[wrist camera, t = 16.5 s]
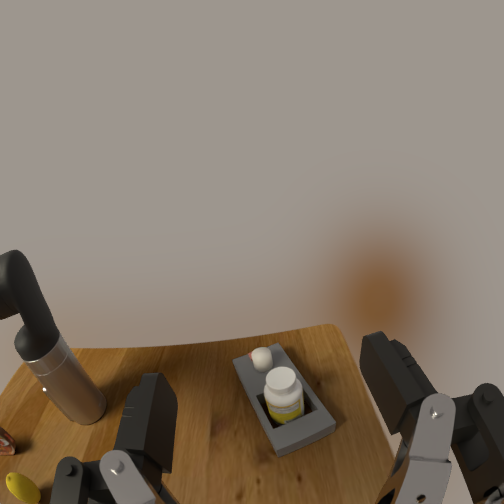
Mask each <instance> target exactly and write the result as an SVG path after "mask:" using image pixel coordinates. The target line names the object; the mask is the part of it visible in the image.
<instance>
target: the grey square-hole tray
mask: <svg viewBox="0 0 504 504" xmlns="http://www.w3.org/2000/svg"><path fill="white" fill-rule="evenodd" d="M232 361H233V364H234V367H235V370H236V372H237V374H238V377H239V379H240V381H241V383H242V385H243V388H244V390H245V392H246V394H247V396H248V398H249V400H250V402H251V405H252V407H253V409H254V411H255V413H256V415H257V417H258V419H259V421H260V423H261V425H262V427H263V429H264V431H265V433H266V435H267V437H268V439H269V441H270V443H271V444H272V446H273V448H274V450H275V452H276V454H277V456H278V458H279V457H281V456H284V455H286V454H288V453H291V452H293V451H295V450H298V449H300V448H302V447H304V446H306V445H309V444H311V443H313V442H315V441H317V440H319V439H321V438H323V437H325V436H327V435H329V434H331V433H333V432H334V431H335V427H336V422H335V420H334V419H333V418H332V416H331V415H330V414H329V412H328V411H327V410H326V408H325V407H324V406H323V404H322V403H321V401H320V400H319V399H318V397H317V396H316V395H315V393H314V392H313V391H312V389H311V388H310V386H309V385H308V384H307V382H306V381H305V380H304V378H303V377H302V375H301V374H300V373H299V371H298V370H297V368H296V367H295V366H294V364H293V363H292V361H291V360H290V359H289V357H288V356H287V354H286V353H285V352H284V350H283V349H282V347H281V346H280V344H279V343H276V344H274V345H271V346H268V347H266V348H265V347H260V348H257V349H255V350H254V351H253V352H250V353H248V354H247V355H244V356H242V357H239V358H236V359H233V360H232ZM277 367H288V368H290V369H292V370H293V371H294V372H295V374H296V378H297V379H298V380H299V381H300V382H301V384H302V388H303V398H304V399H305V401H306V402H307V404H308V405H309V407H310V408H311V410H312V411H313V412H311V413H309V414H307V415H305V416H303V417H301V418H298V419H296V420H294V421H292V422H289V423H287V424H285V425H282V426H280V427H278V428H275V429H273V428H272V426H271V424H270V422H269V420H268V418H267V416H266V415H265V413H264V411H263V409H262V407H261V404H264V403H266V400H265V396H264V387H265V385H266V376H267V374H268V373H269V372H270V371H271V370H272V369H274V368H277Z"/></svg>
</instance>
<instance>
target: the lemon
mask: <svg viewBox="0 0 504 504" xmlns="http://www.w3.org/2000/svg"><path fill="white" fill-rule="evenodd" d="M6 484H7V487H8V489H9V490H10V492H11V493H12V494H13V495H14V496H15V497H17V498H18V499H19V500H21V501H23V502H25V503H28V504H36V503H38V502H39V501H40V498H41V495H40V491H39V489H38V487H37V486H36V485H35V484H34V483H33V482H32V481H31V480H30V479H29V478H27V477H25V476H24V475H22V474H19V473H10V474H8V475H7V477H6Z"/></svg>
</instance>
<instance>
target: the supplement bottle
mask: <svg viewBox="0 0 504 504" xmlns="http://www.w3.org/2000/svg"><path fill="white" fill-rule="evenodd" d="M264 396H265V400H266V403H267V407H268V410H269V414H270V417H271V419H272V420H273V422H275V423H276V424H278V425H281V426H282V425H285V424H287V423H289V422H292V421H294V420H296V419H298V418H301V417H303V415H304V398H303V388H302V384H301V382H300V381H299V380H298V379H297V378H296V374H295V372H294V371H293V370H292V369H290V368H288V367H277V368H274V369H272V370H271V371H270V372H269V373H268V374H267V376H266V385H265V387H264Z"/></svg>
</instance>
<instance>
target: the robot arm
mask: <svg viewBox="0 0 504 504" xmlns="http://www.w3.org/2000/svg"><path fill="white" fill-rule="evenodd" d="M18 313H20V315H21V317H22V319H23V322H24V326H23V327H22V328H21V329H20V330H19V332H18V333H17V335H16V338H15V341H14V343H15V348H16V350H17V352H18V353H19V355H20V356H21V358H22V359H23V360H24V362H25V363H26V365H27V366H28V367H29V369H30V370H31V371H32V373H33V374H34V375H35V376H36V378H37V379H38V380H39V382H40V383H41V384H42V385H43V391H44V393H45V394H46V395H47V396H48V397H49V399H50V400H51V401H52V402H53V403H54V404H55V405H56V406H57V407H58V408H59V409H60V411H61V412H62V413H63V414H64V415H65V416H66V417H67V418H68V419H69V420H70V421H75V422H77V423H78V424H81V425H88V424H92V423H94V422H96V421H97V420H98V419H100V417H101V416H102V415H103V414H104V412H105V409H106V405H107V403H106V398H105V396H104V395H103V394H102V392H101V391H100V390H99V389H98V387H97V386H96V385H95V383H94V382H93V381H92V379H91V378H90V377H89V375H88V374H87V373H86V371H85V370H84V369H83V367H82V366H81V364H80V363H79V361H78V360H77V358H76V357H75V356H74V354H73V353H72V351H71V349H70V348H69V346H68V345H67V343H66V342H65V340H64V339H63V337H62V335H61V334H60V332H59V330H58V329H57V327H56V325H55V323H54V320H53V317H52V314H51V312H50V309H49V307H48V305H47V303H46V301H45V299H44V297H43V295H42V292H41V290H40V287H39V285H38V282H37V280H36V277H35V275H34V272H33V270H32V268H31V266H30V264H29V262H28V260H27V258H26V257H25V256H24V255H23V253H21V252H20V251H18V250H11V251H9V252H6V253H4V254H2V255H0V320H2V319H5V318H8V317H10V316H12V315H15V314H18ZM360 370H361V373H362V375H363V377H364V379H365V381H366V383H367V385H368V387H369V389H370V391H371V394H372V396H373V398H374V400H375V402H376V404H377V406H378V408H379V410H380V412H381V414H382V417H383V419H384V421H385V423H386V425H387V427H388V429H389V432H390V434H391V435H393V434H396V433H398V432H400V434H401V436H402V439H401V442H400V445H399V448H398V451H397V454H396V457H395V460H394V463H393V466H392V469H391V471H390V474H389V476H388V479H387V481H386V483H385V484H384V486H383V488H382V489H381V491H380V493H379V495H378V498H377V500H376V502H375V504H442V501H443V498H444V494H445V491H446V488H447V484H448V481H449V477H450V473H451V467H452V466H451V461H449V460H448V454H449V449H450V446H451V448H452V450H453V453H454V455H455V457H456V459H457V462H458V464H459V467H460V469H461V472H462V474H463V476H464V479H465V482H466V484H467V487H468V490H469V492H470V495H471V498H472V501H473V504H504V396H503V395H502V393H501V392H500V390H499V389H498V388H497V387H496V386H495V385H493V384H489V383H484V384H481V385H480V386H478V387H477V388H476V390H475V391H474V393H473V394H471V395H466V396H462V397H457V398H450V397H449V396H447V395H445V394H441V393H438V392H437V391H436V390H435V389H434V387H433V386H432V384H431V383H430V381H429V380H428V378H427V377H426V375H425V374H424V372H423V371H422V369H421V368H420V366H419V365H418V364H417V363H416V361H415V359H414V358H413V357H412V356H411V354H410V352H409V351H408V349H407V348H406V346H405V345H403V344H401V343H400V342H398V341H397V340H395V339H394V340H392V341H389V340H388V338H387V337H386V335H385V334H384V333H383V332H382V331H379V332H376V333H372V334H369V335H366V336H364V337H363V339H362V347H361V354H360ZM177 410H178V403H177V398H176V395H175V393H174V391H173V390H172V388H171V387H170V385H169V383H168V382H167V380H166V378H165V376H164V375H163V374H162V373H147V374H143V375H142V377H141V381H140V385H139V386H134V387H133V389H132V390H131V392H130V393H129V394H128V396H127V399H126V402H125V408H124V410H123V414H122V415H123V417H121V421H120V425H119V429H118V433H117V438H116V442H115V446H114V449H113V450H112V451H109V452H107V453H106V454H105V455H104V456H103V457H102V459H101V460H98V461H91V462H84V463H82V462H80V461H79V460H78V459H76V458H74V457H65V458H63V459H62V460H61V461H60V462H59V463H58V465H57V469H56V473H55V478H54V483H53V488H52V494H51V500H50V504H87V503H88V504H180V503H179V502H178V501H177V499H176V498H175V497H174V496H173V494H172V493H171V492H170V490H169V489H168V488H167V486H166V485H165V484H164V482H163V481H162V480H161V479H162V473H172V460H173V448H174V438H175V428H176V418H177ZM88 498H89V499H88ZM417 501H419V502H418V503H417Z"/></svg>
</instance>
